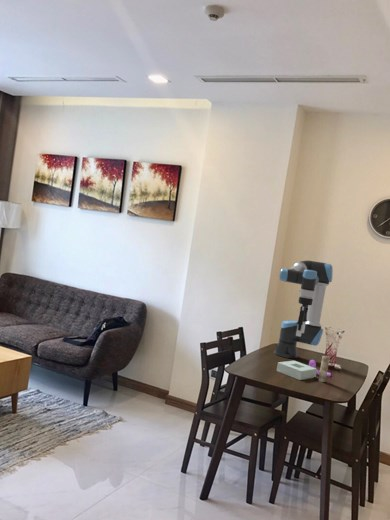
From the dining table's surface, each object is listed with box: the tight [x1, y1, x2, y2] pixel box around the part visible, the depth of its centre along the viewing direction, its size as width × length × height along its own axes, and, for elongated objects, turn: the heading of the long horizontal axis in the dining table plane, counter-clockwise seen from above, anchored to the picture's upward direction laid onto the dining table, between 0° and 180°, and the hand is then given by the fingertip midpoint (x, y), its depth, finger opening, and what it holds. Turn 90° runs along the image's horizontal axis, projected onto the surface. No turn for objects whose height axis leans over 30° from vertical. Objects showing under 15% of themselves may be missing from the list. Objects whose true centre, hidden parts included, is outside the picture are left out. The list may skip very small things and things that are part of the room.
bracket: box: [308, 359, 331, 378], centre depth 284 cm, size 13×6×7 cm, turn 79°
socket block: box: [276, 360, 318, 381], centre depth 275 cm, size 16×16×5 cm
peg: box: [317, 355, 330, 383], centre depth 268 cm, size 4×4×14 cm
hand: (299, 334), depth 270 cm, fingers open, 13 cm apart
